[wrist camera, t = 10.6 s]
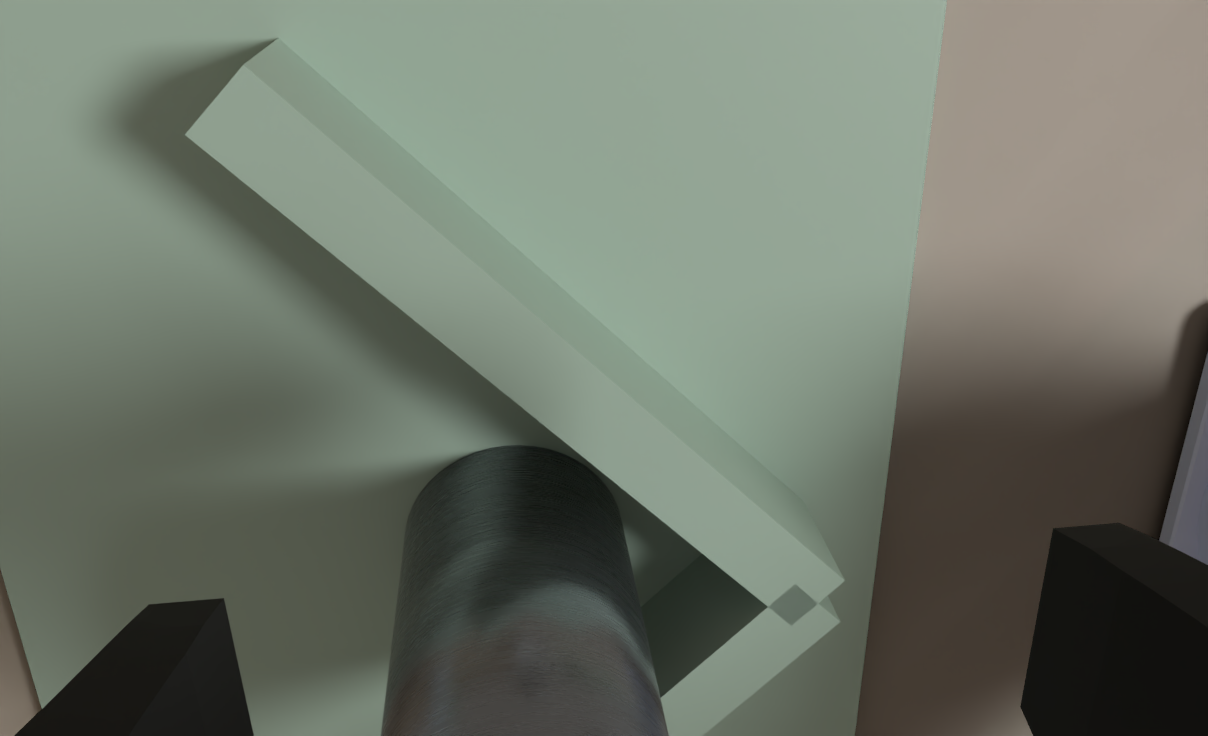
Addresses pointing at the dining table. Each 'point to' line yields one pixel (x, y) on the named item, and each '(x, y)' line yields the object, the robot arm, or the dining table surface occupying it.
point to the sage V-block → (456, 319)
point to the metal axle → (518, 607)
